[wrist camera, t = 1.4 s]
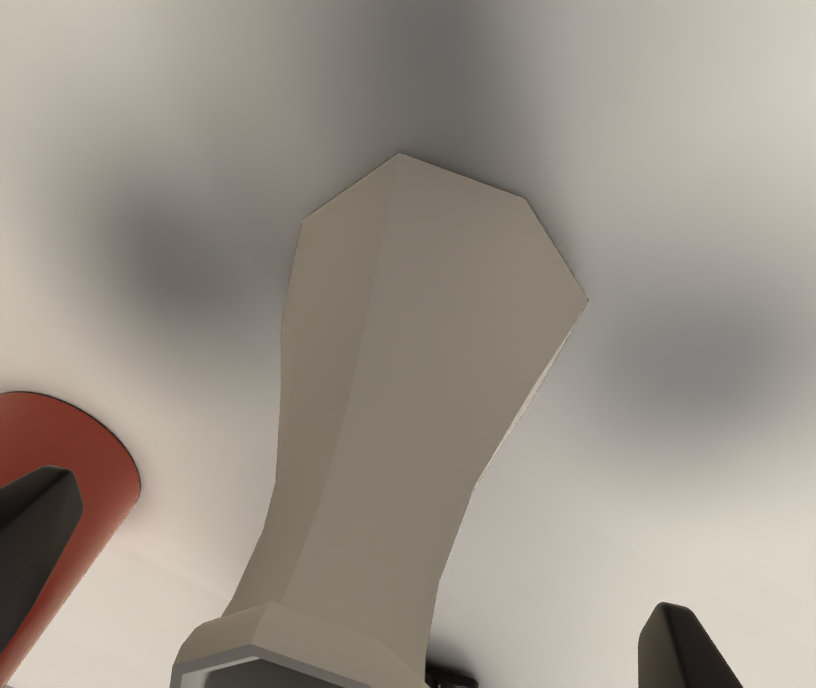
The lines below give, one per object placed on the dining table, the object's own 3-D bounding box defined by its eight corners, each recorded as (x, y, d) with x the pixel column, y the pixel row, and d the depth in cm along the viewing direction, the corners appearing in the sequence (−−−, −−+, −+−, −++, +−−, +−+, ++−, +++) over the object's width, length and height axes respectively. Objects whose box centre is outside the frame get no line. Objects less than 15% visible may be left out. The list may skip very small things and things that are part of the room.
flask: (241, 313, 16) (-58, 689, 8) (390, 86, 12) (104, 368, 4) (453, 455, 18) (377, 894, 10) (646, 291, 14) (792, 793, 6)
